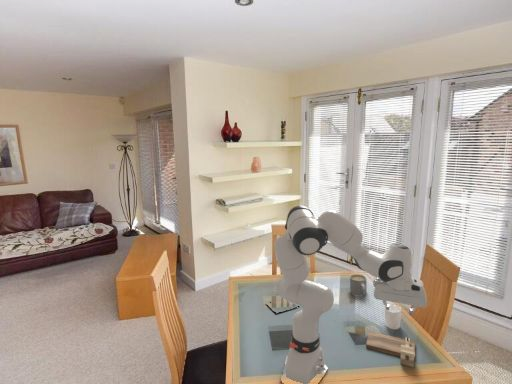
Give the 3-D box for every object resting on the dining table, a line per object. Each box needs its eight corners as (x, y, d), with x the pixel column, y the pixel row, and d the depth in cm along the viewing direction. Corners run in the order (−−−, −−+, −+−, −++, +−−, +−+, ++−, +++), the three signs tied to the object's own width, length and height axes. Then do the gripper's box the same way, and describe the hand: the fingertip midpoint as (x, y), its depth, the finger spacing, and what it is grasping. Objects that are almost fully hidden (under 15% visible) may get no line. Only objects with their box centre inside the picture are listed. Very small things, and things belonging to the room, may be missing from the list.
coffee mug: (348, 288, 192) (348, 274, 191) (364, 288, 191) (363, 274, 190) (353, 298, 179) (353, 283, 178) (370, 298, 178) (370, 283, 177)
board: (415, 360, 125) (415, 356, 125) (366, 348, 135) (366, 344, 134) (414, 345, 135) (414, 341, 134) (369, 334, 144) (369, 330, 144)
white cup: (391, 332, 145) (391, 313, 144) (380, 323, 153) (381, 305, 151) (404, 328, 147) (404, 310, 146) (393, 320, 155) (393, 303, 153)
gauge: (413, 369, 120) (414, 356, 119) (400, 365, 122) (400, 352, 122) (413, 346, 134) (413, 334, 133) (401, 343, 136) (401, 331, 135)
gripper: (372, 280, 124) (372, 310, 126) (427, 288, 114) (427, 320, 116) (373, 274, 129) (374, 303, 131) (426, 281, 120) (426, 312, 122)
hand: (399, 311), depth 124 cm, fingers open, 8 cm apart
